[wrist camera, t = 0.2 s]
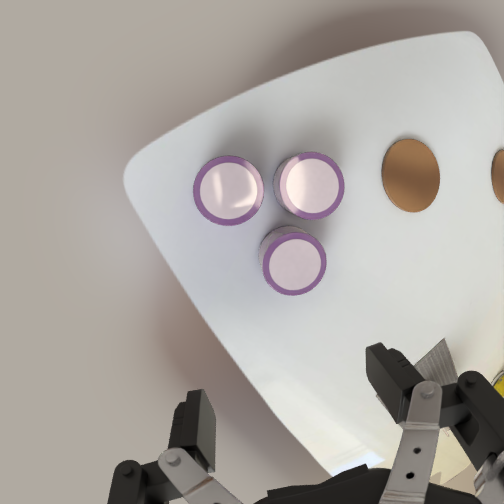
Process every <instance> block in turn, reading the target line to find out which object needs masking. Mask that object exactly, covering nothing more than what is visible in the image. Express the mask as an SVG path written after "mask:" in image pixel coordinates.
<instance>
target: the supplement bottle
mask: <svg viewBox="0 0 504 504" xmlns="http://www.w3.org/2000/svg"><path fill="white" fill-rule="evenodd" d="M491 385H492V386H493V387H494V388H495V389H496V390H497V391H498V392H499V393H500V395H501V396H502V397H503V398H504V371H502V372H501V373H500V374H498V375H497V377H496V378H495V379H494V380H493V382H492V383H491Z"/></svg>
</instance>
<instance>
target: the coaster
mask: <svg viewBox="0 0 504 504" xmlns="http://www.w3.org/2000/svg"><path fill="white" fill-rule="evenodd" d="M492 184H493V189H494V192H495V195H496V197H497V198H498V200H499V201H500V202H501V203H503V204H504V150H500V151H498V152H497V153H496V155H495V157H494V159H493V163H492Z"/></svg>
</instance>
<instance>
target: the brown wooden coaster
mask: <svg viewBox="0 0 504 504" xmlns="http://www.w3.org/2000/svg"><path fill="white" fill-rule="evenodd" d="M382 181H383V185H384V188H385V191H386V193H387V195H388V197H389V199H390V200H391V201H392V202H393V203H394V204H395V205H396V206H397V207H398V208H400V209H402V210H404V211H408V212H419V211H422V210H424V209H426V208H427V207H429V206H430V205H431V203H432V202H433V201H434V199H435V197H436V195H437V193H438V189H439V184H440V173H439V167H438V164H437V161H436V158H435V157H434V155H433V153H432V152H431V150H430V149H429V148H428V147H427V146H426V145H424V144H423V143H422V142H420V141H417V140H414V139H405V140H400V141H398V142H396V143H394V144H393V145H392V146H391V147H390V148H389V150H388V151H387V153H386V155H385V157H384V160H383V165H382Z"/></svg>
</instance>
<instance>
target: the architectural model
mask: <svg viewBox="0 0 504 504" xmlns="http://www.w3.org/2000/svg"><path fill="white" fill-rule="evenodd" d="M414 367H415V368H416V370H417V371H418V372H419V373H420V374H421V375H422V376H423V377H424V379H425V380H426V381H434V382H436V383H438V384H439V385H440V386H443V385H448V384H452V383H456V382H457V381H458V376H457V373H456V370H455V367H454V364H453V361H452V358H451V355H450V352H449V349H448V347H447V344H446V341H445V339H443V340H442V341H441V342H440V343H439V344H438V345H437V346H435V347H434V348H433V349H432V350H431V351H430V352H429V353H428V354H427V355H426V356H425V357H423V358H422V359H421V360H420V361H419V362H418V363H417V364H415V365H414ZM376 397H377V398H378V399H379V401H380V402H381V403H382V404H383V405H384V403H383V402H382V400H381V399H380V397H379V396H378V395H376ZM384 407H385V405H384ZM385 408H386V407H385ZM386 409H387V408H386ZM388 412H389V411H388ZM405 424H406V423H405V422H404V421H403V422H401V423H399V425H400V426H401V428H402V429H403V430H404V426H405ZM442 429H443V431H444V432H445V433H446V435H447V436H448V437H449V434H448V432H447V431H449V430H450V428H449V427H445V428H442Z"/></svg>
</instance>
